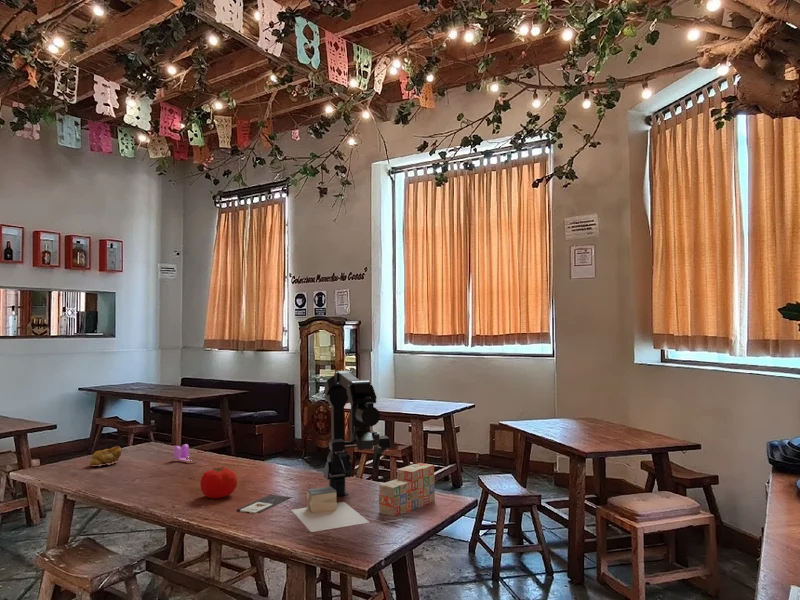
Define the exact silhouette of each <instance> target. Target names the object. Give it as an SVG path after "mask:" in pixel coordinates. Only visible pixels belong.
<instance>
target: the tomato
mask: <svg viewBox="0 0 800 600" xmlns="http://www.w3.org/2000/svg"><path fill="white" fill-rule="evenodd" d="M212 468H213V469H211V470H206V471H205V472H204V473H203V475H202V476H201V478H200V482H199V483H200V484H199V485H200V491H201V493H202V494H203V495H204V496H205V497H206V496H207V498H208V497H209V499H210V498H215V499H221V498H225V497H228V496H230V495H231V494H232V493H234V492H235V490H236V488H237V485H238V478H237V475H236V473H235V472H234V471H233V470H231V469H229V468H227V467H224V466H222V467H221V466H220V467H219V466H217V467H215V466H212Z"/></svg>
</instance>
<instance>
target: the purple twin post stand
mask: <svg viewBox="0 0 800 600" xmlns="http://www.w3.org/2000/svg"><path fill="white" fill-rule="evenodd" d="M172 449H173V450H172V454H173V455H172V456H173V458H174V459H180V460H185V461H190V460H189V459H188V460H186V458H185V457H188V458H189V457H190V446H189V444H188V443H185V444H181V446H180V445H175V446H174V447H173V448H172ZM181 456H182V457H181ZM173 458H172V459H173ZM191 461H192V460H191Z"/></svg>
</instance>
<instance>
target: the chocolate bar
mask: <svg viewBox="0 0 800 600" xmlns="http://www.w3.org/2000/svg"><path fill="white" fill-rule="evenodd" d="M292 498H293V497H292V496H288V495H287V496H285V495H278V494H277V495H276V494H268V495H265V496H264V497H262V498H259V499H257V500H255V501H253V502H251V503H249V504H246V505H244V506H242V507H239V508H236V512H239V511H240V512H241V513H246V512H249V513H248V514H253V513H255V514H256V513H258V514H260V513H263V512H264V511H267V510H269V509H271V508H273V507H276V506H278V505H279V504H282V503H283V502H286V501H287V500H290V499H292Z"/></svg>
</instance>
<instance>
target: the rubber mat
mask: <svg viewBox="0 0 800 600" xmlns="http://www.w3.org/2000/svg"><path fill="white" fill-rule="evenodd" d="M291 512H292V513H293V514H294V515H295V516H296V517H297V519H298V520H299V521H300V522H301V523H302V524H303V526H305V527H306V529H307V530H308V531H309V532H310V533H316V532H322V531H326V530H327V531H328V530H333V529H340V528H344V527H346V528H347V527H351V526H352V527H353V526H357V525H362V524H369V523H370V521H369V520H368V519H366V518H365V517H364V516H362V515H361V514H360V513H359V512H358V511H357V510H355V509H354V508H353V507H351V506H350V505H349V504H348V503H346V502H345V501H342V502H341V501H340V502H337V510H333V511H326V512H320V513H313V514H312V513H311V512H310V511H309V510H308V509H307V507H300V508H295V509H291Z"/></svg>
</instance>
